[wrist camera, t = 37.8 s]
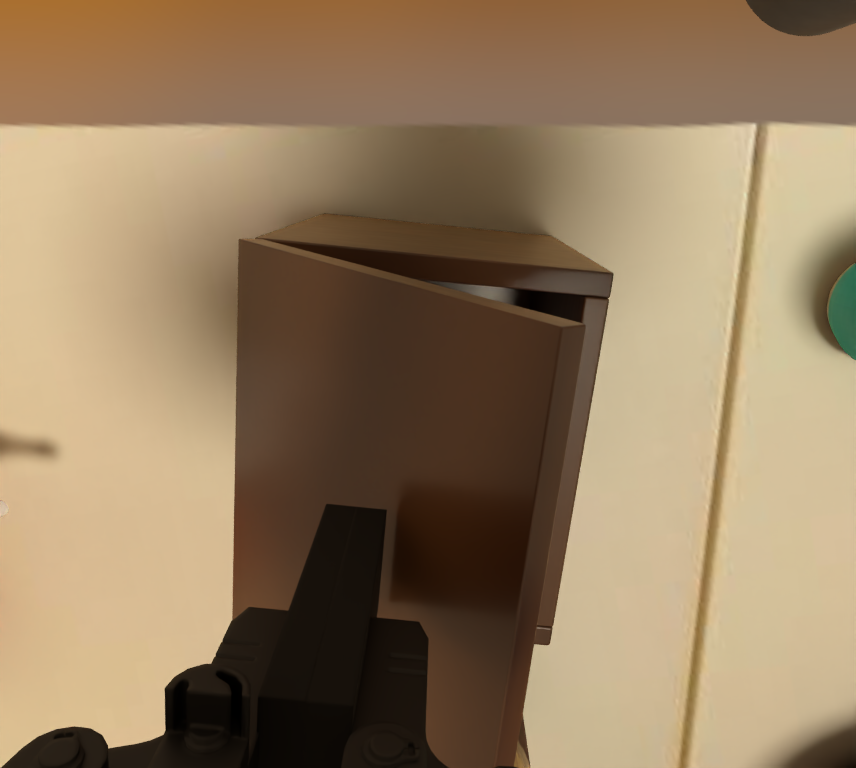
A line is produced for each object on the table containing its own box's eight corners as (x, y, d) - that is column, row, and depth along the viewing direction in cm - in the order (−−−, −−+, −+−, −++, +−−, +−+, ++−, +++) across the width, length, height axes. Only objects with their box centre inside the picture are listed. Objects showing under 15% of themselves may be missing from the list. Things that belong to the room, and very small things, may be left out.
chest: (553, 236, 34) (614, 272, 22) (516, 492, 38) (550, 646, 26) (323, 213, 34) (254, 237, 22) (310, 472, 38) (245, 617, 25)
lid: (588, 323, 13) (562, 327, 13) (497, 867, 17) (475, 888, 17) (262, 238, 21) (237, 238, 21) (252, 621, 25) (231, 629, 25)
